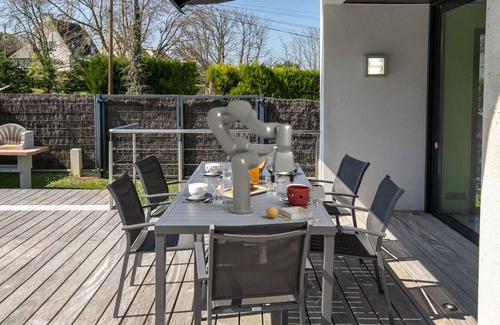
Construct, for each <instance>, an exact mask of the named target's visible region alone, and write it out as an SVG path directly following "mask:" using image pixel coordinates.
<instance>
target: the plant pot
mask: <svg viewBox="0 0 500 325" xmlns="http://www.w3.org/2000/svg"><path fill="white" fill-rule="evenodd" d="M310 189H311V186H310V187H309V186H307V185H300V184H290V185H288V186H287V187H286V198H287V201H288V203H287V207H299V206H300V207H302V208H304V209H307V208H308V207H309V204H308V202H309V201H310V199H309V193H310Z"/></svg>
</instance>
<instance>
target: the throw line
mask: <svg viewBox="0 0 500 325" xmlns="http://www.w3.org/2000/svg"><path fill="white" fill-rule="evenodd" d="M277 217H280V218H282V219H283V220H286V221H287V222H288V223H293V222H294V221H293V220H291V219H289V218H287V217H285V216H283V215H281V214H279V213H278V215H277Z"/></svg>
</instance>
